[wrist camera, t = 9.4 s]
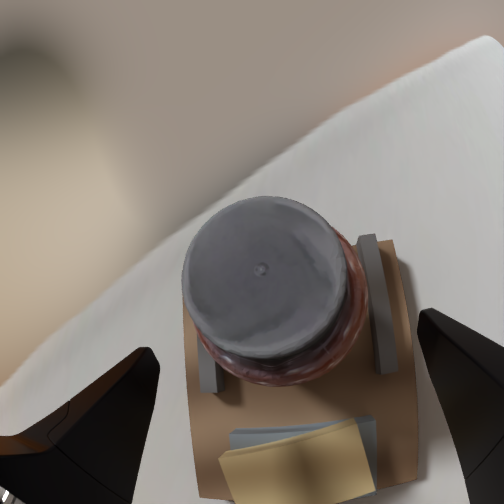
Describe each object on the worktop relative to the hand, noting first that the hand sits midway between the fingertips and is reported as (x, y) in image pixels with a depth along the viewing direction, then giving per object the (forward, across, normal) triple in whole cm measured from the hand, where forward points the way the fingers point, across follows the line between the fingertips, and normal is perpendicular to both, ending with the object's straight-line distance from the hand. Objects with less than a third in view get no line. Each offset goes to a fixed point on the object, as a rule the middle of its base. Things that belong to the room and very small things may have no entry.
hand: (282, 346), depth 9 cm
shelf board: (+6, 0, +9) cm, 11 cm away
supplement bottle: (+7, 0, +5) cm, 9 cm away
